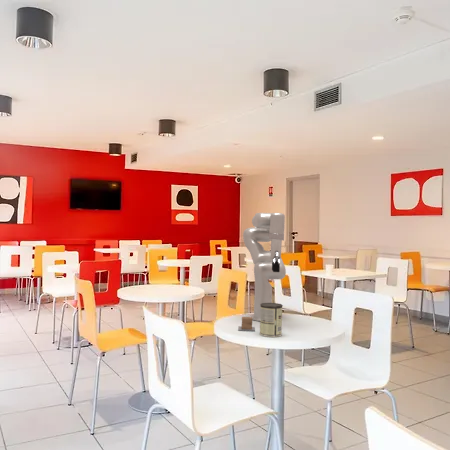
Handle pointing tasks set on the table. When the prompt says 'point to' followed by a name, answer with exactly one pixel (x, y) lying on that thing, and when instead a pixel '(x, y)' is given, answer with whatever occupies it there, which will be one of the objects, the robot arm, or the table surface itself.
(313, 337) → the table surface
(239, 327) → the slate coaster
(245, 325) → the walnut block
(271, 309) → the coffee can
